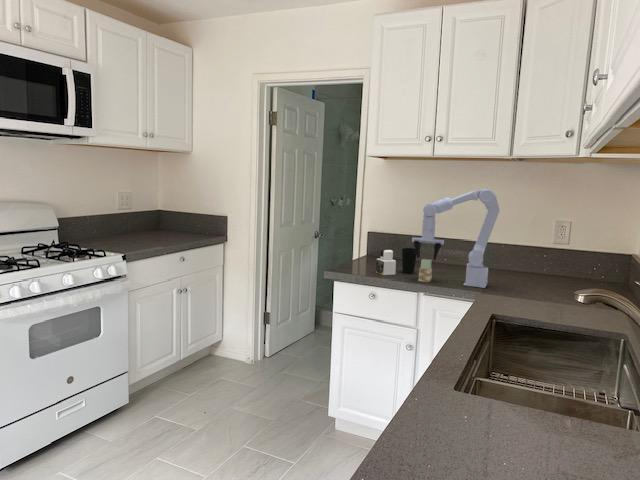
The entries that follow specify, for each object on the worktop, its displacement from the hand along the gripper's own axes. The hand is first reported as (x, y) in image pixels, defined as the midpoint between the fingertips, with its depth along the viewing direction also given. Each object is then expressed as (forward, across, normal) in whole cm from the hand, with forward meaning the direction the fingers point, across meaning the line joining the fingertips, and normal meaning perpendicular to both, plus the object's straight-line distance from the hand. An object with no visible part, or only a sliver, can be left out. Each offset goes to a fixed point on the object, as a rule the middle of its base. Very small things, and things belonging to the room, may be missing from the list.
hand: (426, 258), depth 223 cm
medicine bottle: (+11, +20, -4) cm, 23 cm away
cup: (+11, +11, -12) cm, 20 cm away
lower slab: (+11, 0, +1) cm, 11 cm away
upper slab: (+8, 0, +1) cm, 8 cm away
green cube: (+5, 0, 0) cm, 5 cm away
